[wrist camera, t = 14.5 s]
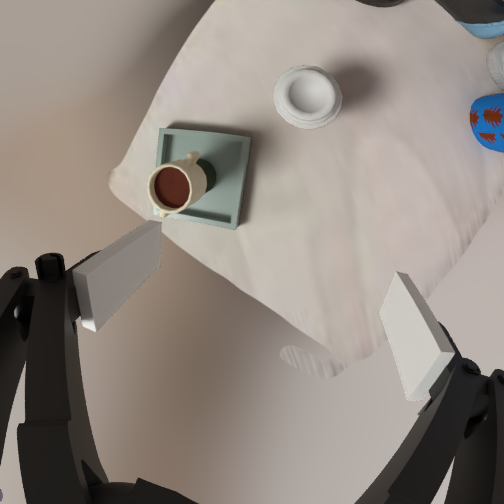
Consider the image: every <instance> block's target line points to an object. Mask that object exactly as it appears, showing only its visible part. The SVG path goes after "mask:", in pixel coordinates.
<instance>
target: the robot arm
mask: <svg viewBox="0 0 504 504" xmlns="http://www.w3.org/2000/svg"><path fill="white" fill-rule="evenodd" d="M356 1H359V2H361V3H364V4H367V5H371V6H376V7H391V6H395V5H397V4H399V3H401V2H402V1H403V0H356ZM435 1H436V2H437V3H438V4H439V5H440V6H442V7H443V8H444V9H445V10H446V11H447V12H448V13H449V14H450V15H451V16H452V17H453V18H454V20H455V21H457V22H458V23H460V24H461V25H462V26H463V27H464V28H465V29H466V30H468V31H469V32H470V33H471V34H472V35H474V36H476V37H478V38H482V39H490V38H495V37H498V36H501V35H504V0H435ZM161 226H162V222H158V221H153V220H149V221H147V222H146V223H144V224H142V225H141V226H139V227H137V228H136V229H134V230H133V231H131V232H129V233H128V234H126V235H125V236H123V237H121V238H120V239H118V240H117V241H115V242H114V243H112V244H111V245H109V246H107V247H106V248H104V249H103V250H100V251H97V252H94V253H92V254H90V255H88V256H87V257H86V258H85V259H82V260H81V261H80V262H78V263H77V264H75V265H74V266H72V267H71V268H69V269H68V270H66V271H65V265H64V258H63V256H62V255H61V254H59V253H47V254H44V255H41V256H40V257H38V258H37V259H36V260H35V265H36V270H37V275H38V279H33V278H29V273H28V269H27V268H25V267H15V268H14V267H13V268H11V269H10V270H8V271H7V272H6V273H5V274H4V275H3V276H2V278H1V279H0V465H1V459H2V454H3V449H4V443H5V437H6V432H7V427H8V422H9V418H10V413H11V409H12V405H13V401H14V397H15V394H16V390H17V387H18V383H19V380H20V377H21V373H22V371H23V368H24V365H25V361H26V373H25V422H24V423H19V425H18V427H17V442H18V454H19V462H20V470H21V477H22V483H23V488H24V493H25V498H26V503H27V504H198V503H196V502H194V501H192V500H190V499H188V498H187V497H185V496H183V495H181V494H179V493H178V492H176V491H173V490H170V489H167V488H164V487H161V486H158V485H156V484H153V483H151V482H148V481H145V480H143V479H141V478H138V479H137V481H136V483H135V484H134V483H125V482H110V483H109V481H108V478H107V476H106V474H105V472H104V469H103V468H102V465H101V463H100V460H99V458H98V454H97V450H96V446H95V443H94V439H93V435H92V430H91V426H90V422H89V417H88V412H87V406H86V401H85V395H84V389H83V383H82V376H81V367H80V359H79V349H78V336H77V325H76V321H75V320H76V319H77V318H78V317H79V316H81V320H82V324H83V327H85V328H88V329H90V330H92V331H95V332H97V331H98V330H99V329H100V328H101V327H102V326H103V324H104V323H105V322H106V321H107V320H108V319H109V318H110V317H111V316H112V315H113V314H114V313H115V312H116V311H117V310H118V309H119V307H121V306H122V304H123V303H124V302H125V301H126V300H127V299H128V298H129V297H130V296H131V295H132V294H133V293H134V292H135V291H136V290H137V289H138V288H139V287H140V286H141V285H142V284H143V283H144V282H145V281H146V280H147V279H148V278H149V277H150V276H151V275H152V274H153V273H154V272H155V271H156V270H157V269H158V268H159V267H160V259H161V258H160V257H161V256H160V255H161ZM379 314H380V317H381V320H382V323H383V326H384V328H385V331H386V334H387V337H388V340H389V343H390V346H391V349H392V352H393V355H394V358H395V361H396V364H397V367H398V371H399V374H400V377H401V381H402V384H403V388H404V391H405V395H406V399H407V400H408V401H421V400H422V399H423V398H424V397H425V395H426V394H427V393H428V391H429V393H430V396H431V398H430V400H429V401H428V402H427V403H426V405H425V406H424V407H423V408H422V410H420V412H419V413H418V415H420V416H419V417H418V419H417V421H416V422H415V424H414V426H413V427H412V429H411V430H410V432H409V434H408V435H407V437H406V438H405V440H404V441H403V443H402V444H401V446H400V447H399V449H398V450H397V451H396V453H395V454H394V456H393V457H392V459H391V460H390V461H389V462H388V464H387V465H386V467H385V468H384V469H383V470H382V472H381V473H380V474H379V476H378V477H377V478H376V479H375V481H374V482H373V483H372V484H371V485H370V487H369V488H368V489H367V490H366V491H365V492H364V494H363V495H362V496H361V497H360V498H359V499H358V500H357V501H356V503H355V504H431V502H432V500H433V499H434V497H435V495H436V493H437V491H438V489H439V487H440V485H441V483H442V482H443V480H444V478H445V476H446V474H447V472H448V469H449V467H450V465H451V463H452V461H453V458H454V456H455V458H454V464H453V469H452V474H451V479H450V483H449V487H448V491H447V495H446V499H445V502H444V504H504V371H503V370H500V369H495V370H494V372H493V373H492V374H491V376H490V377H488V376H484V375H481V371H480V369H479V367H478V366H477V364H476V363H474V362H473V361H472V360H469V359H468V358H462V356H461V354H460V352H459V351H458V349H457V347H456V345H455V343H454V342H453V340H452V338H451V337H450V335H449V333H448V331H447V330H446V328H445V327H444V326H443V325H442V324H441V323H440V322H438V321H437V320H436V318H435V316H434V315H433V313H432V311H431V310H430V308H429V306H428V305H427V303H426V302H425V300H424V298H423V297H422V295H421V294H420V292H419V291H418V289H417V288H416V286H415V285H414V283H413V282H412V280H411V279H410V277H409V276H408V274H405V273H400V272H396V273H395V275H394V278H393V280H392V283H391V285H390V288H389V290H388V293H387V295H386V298H385V300H384V303H383V305H382V307H381V310H380V312H379ZM14 315H15V316H14ZM485 419H486V420H485ZM2 498H3V494H2V491H1V489H0V501H1V500H2Z"/></svg>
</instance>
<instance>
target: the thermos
mask: <svg viewBox="0 0 504 504" xmlns="http://www.w3.org/2000/svg"><path fill="white" fill-rule="evenodd" d="M470 123H471V127H472V130H473V133H474V135H475V137H476V138H477V140H478V141H479V142H480V143H481V144H482V145H483V146H484V147H486V148H488V149H491V150H495V151H499V152H503V153H504V94H496V95H489V96H485V97H481V98H479V99H477V100H475V102H474V103H473V105H472V107H471V111H470Z"/></svg>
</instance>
